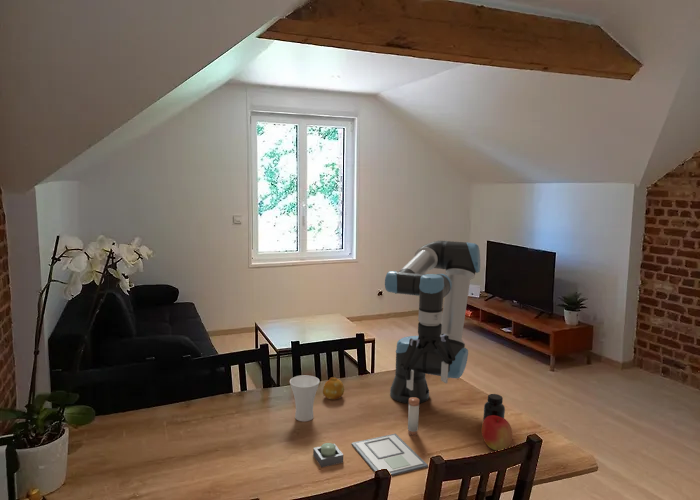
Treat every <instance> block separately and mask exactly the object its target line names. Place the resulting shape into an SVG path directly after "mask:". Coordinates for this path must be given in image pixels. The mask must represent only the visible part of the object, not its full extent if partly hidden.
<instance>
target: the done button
mask: <svg viewBox="0 0 700 500" xmlns="http://www.w3.org/2000/svg"><path fill="white" fill-rule="evenodd" d="M334 444H335V443H332V442H326V443H325V442H324V443H323V444H321V455H322V456H323V457H328V456H332V455H335V452H336V446H337V445H336V444H335V445H336V446H335V445H334Z"/></svg>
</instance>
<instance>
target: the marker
mask: <svg viewBox="0 0 700 500" xmlns="http://www.w3.org/2000/svg"><path fill="white" fill-rule="evenodd" d="M419 408H420V403H419V399H418V398H416V397H411V398H409V404H408V414H407V416H408V417H407V430H408V431H407V432H408V433H407V434H408V435H409V436H412V437H413V436H414V437H415V436H417V435H418V430H419V416H420V415H419V413H420V409H419Z"/></svg>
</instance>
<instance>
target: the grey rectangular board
mask: <svg viewBox="0 0 700 500" xmlns="http://www.w3.org/2000/svg"><path fill="white" fill-rule="evenodd" d="M350 444H351V446H352V447H353V448H354V449H355V451H356V452H357V453H358V454H359V455H360V456H361V458H362V459H363V460H364V461H365V463H366V464H367V465H368V466H369V467H370V469H371V470H372V472H373V473H375V471H377V470H381V469H387V470H388V471H389V472H390V473H391V475H392V476H396V475H401V474H405V473H409V472H412V471H413V472H414V471H417V470H420V469H425V468H426V469H427V468H428V467H429V465H428V463H427V462H426V461H424V459H422V457H420V455H418V454H417V453H416V451H414V450H413V449H412V448H411V447H410V446H409V445H408V444H407V443H406V442H405V441H404V440H403V439H402V438H401V437H399V435H397V433H391V434H386V435H382V436H378V437H372V438H368V439H363V440H359V441H353V442H351V443H350ZM392 476H391V477H392Z"/></svg>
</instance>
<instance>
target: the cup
mask: <svg viewBox="0 0 700 500" xmlns="http://www.w3.org/2000/svg"><path fill="white" fill-rule="evenodd" d="M320 382H321V381H320V379H319V378H318V377H316V376H314V375H310V374H309V375H308V374H306V375H304V374H303V375H302V374H301V375H296V376H294V377H291V378H290V379H289V385H290V388H291V390H292V394H293V398H294V405H295V413H294V414H295V415H294V418H295V420H297V421H299V422H310V421H312V420H313V419H314V418H315V417H314V403H315V397H316V393H317V391H318V388H319V384H320Z"/></svg>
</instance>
